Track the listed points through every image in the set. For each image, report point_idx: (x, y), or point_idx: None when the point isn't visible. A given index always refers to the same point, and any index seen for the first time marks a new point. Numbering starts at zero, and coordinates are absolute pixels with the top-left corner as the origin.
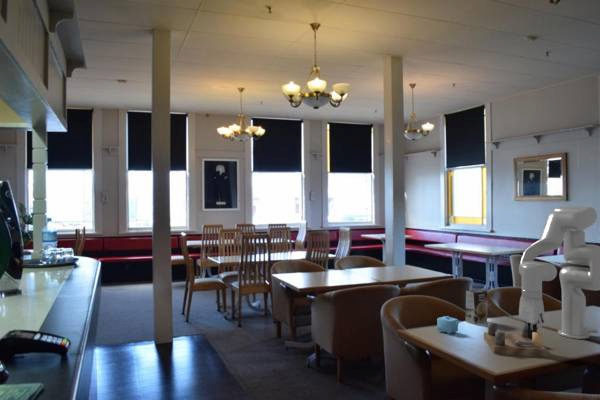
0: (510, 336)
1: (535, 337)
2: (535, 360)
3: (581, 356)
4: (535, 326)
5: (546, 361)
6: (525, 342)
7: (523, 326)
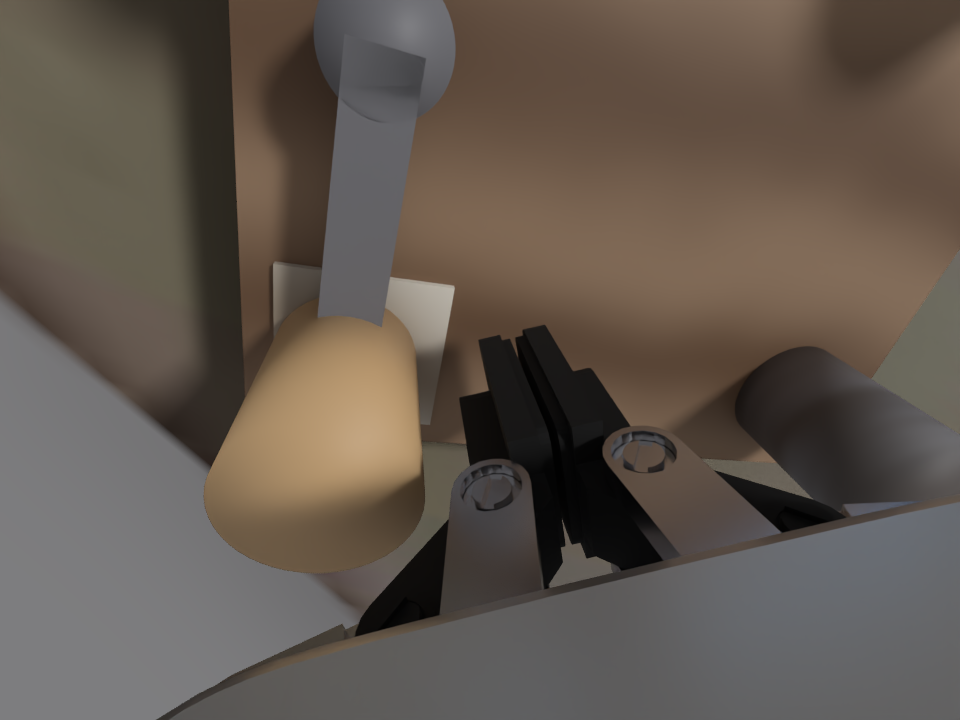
0: (875, 171)
1: (251, 399)
2: (77, 171)
3: (360, 617)
4: (365, 627)
5: (91, 303)
6: (333, 183)
7: (923, 442)
